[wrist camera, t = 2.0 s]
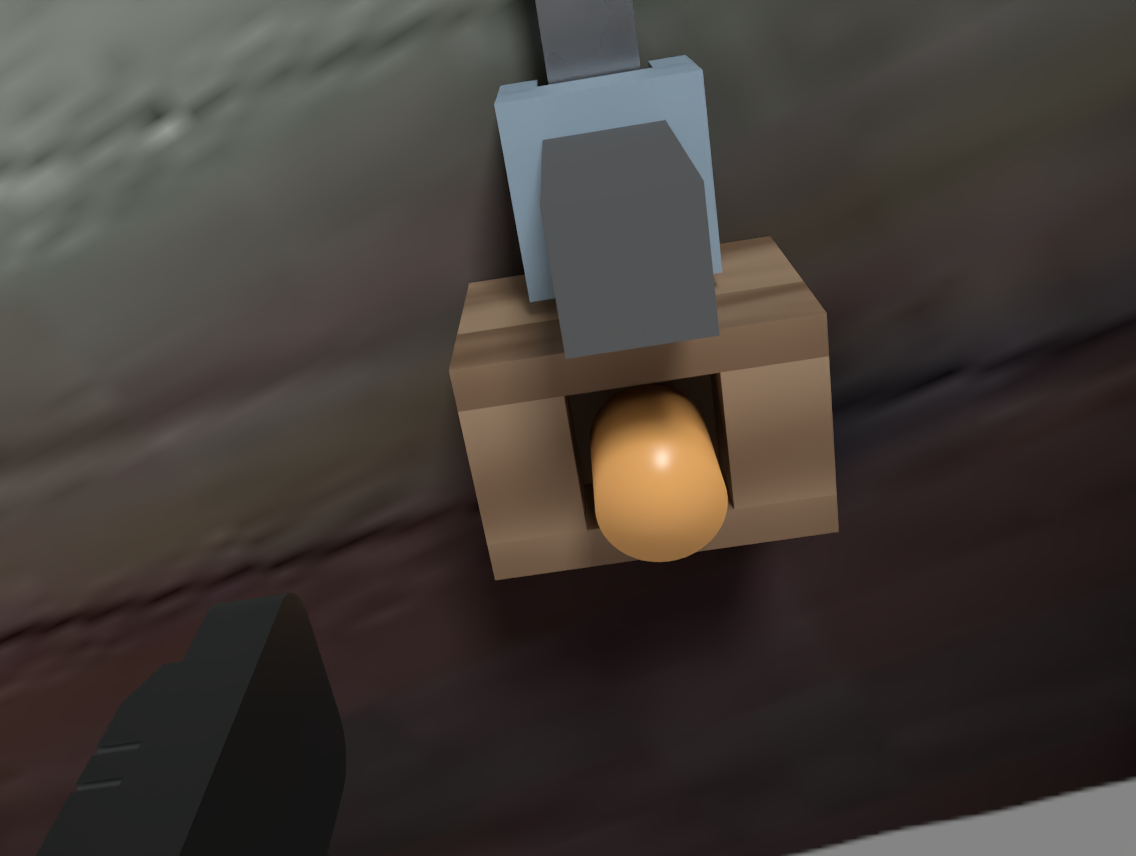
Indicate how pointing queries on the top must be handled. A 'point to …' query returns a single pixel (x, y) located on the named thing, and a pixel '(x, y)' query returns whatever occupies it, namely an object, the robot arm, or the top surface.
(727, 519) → the stand
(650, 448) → the button
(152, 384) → the top surface
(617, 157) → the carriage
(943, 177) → the top surface
